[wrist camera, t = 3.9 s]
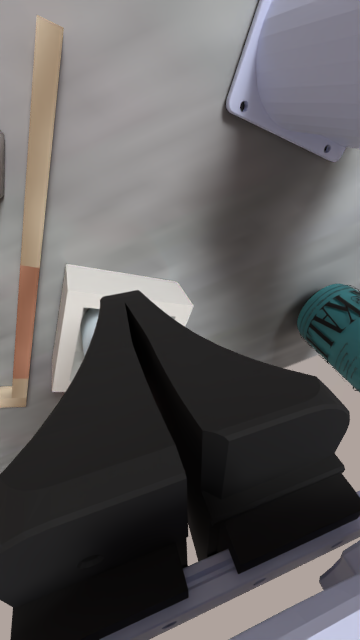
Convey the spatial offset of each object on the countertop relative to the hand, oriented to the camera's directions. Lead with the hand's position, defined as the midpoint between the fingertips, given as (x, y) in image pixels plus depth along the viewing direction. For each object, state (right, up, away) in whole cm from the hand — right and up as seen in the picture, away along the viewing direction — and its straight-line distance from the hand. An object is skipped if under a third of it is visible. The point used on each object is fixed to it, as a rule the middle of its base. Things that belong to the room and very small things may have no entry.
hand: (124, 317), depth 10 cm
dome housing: (-3, 0, +12) cm, 13 cm away
